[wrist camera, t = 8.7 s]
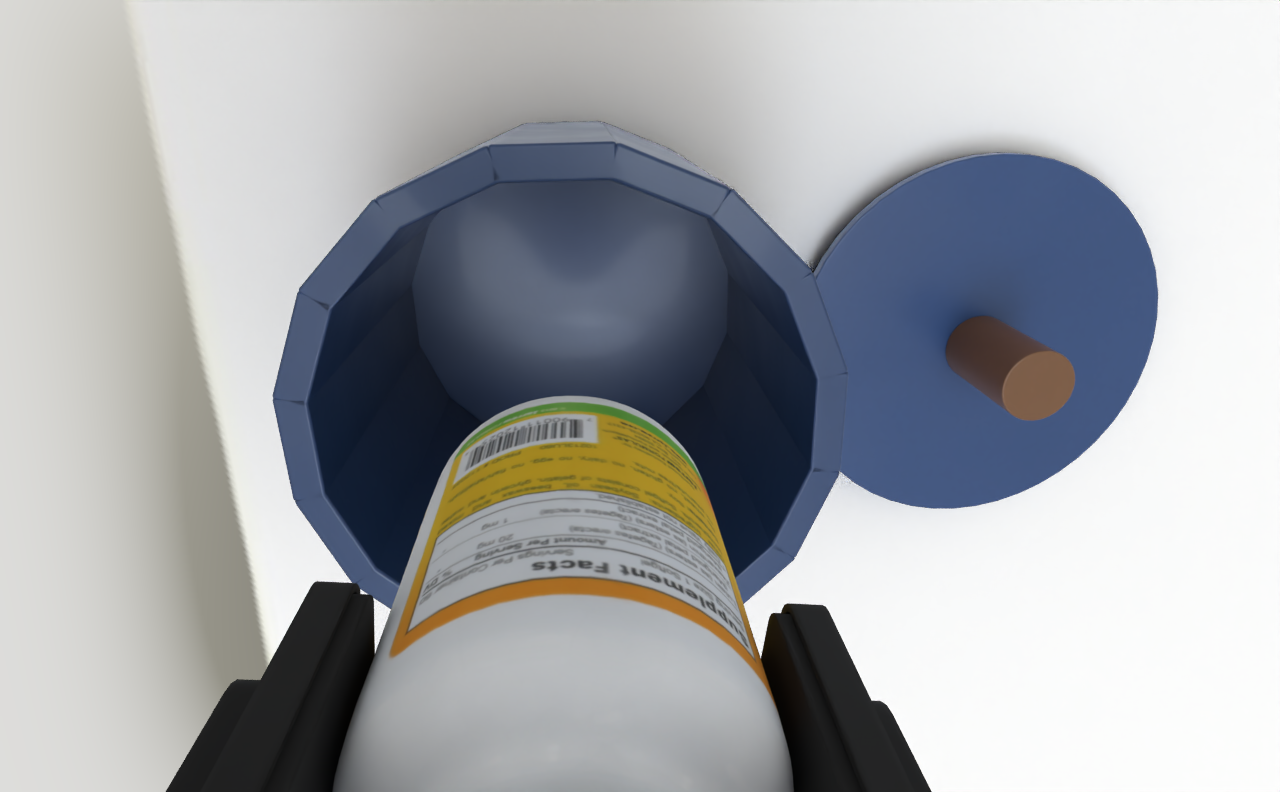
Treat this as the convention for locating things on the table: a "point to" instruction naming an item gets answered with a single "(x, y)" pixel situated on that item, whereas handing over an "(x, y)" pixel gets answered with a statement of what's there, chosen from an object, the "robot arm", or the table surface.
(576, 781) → the supplement bottle
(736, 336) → the tin
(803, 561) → the table surface
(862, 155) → the table surface
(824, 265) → the tin lid
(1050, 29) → the table surface
